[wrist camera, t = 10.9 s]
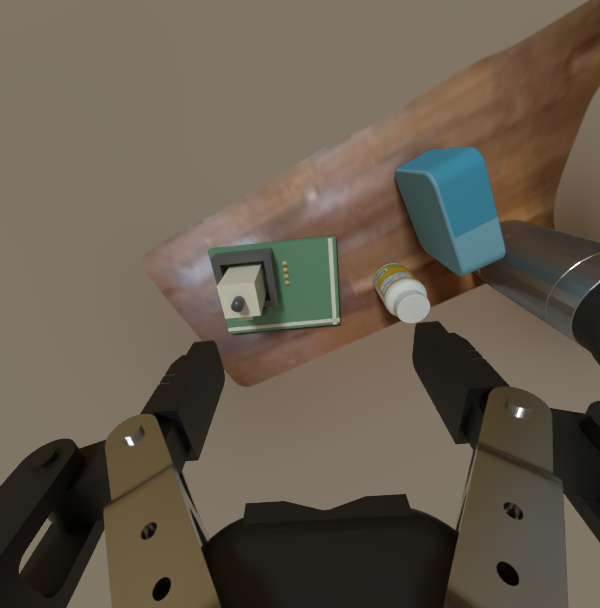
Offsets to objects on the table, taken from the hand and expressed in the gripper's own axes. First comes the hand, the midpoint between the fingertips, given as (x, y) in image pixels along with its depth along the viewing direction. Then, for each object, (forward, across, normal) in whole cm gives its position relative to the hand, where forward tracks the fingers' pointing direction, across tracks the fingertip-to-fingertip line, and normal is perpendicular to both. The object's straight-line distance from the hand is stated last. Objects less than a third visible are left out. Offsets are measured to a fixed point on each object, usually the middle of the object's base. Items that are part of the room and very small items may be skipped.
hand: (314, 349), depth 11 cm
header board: (+30, +5, +10) cm, 32 cm away
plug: (+29, +9, +8) cm, 31 cm away
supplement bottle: (+30, -12, +10) cm, 34 cm away
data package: (+30, -16, 0) cm, 34 cm away
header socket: (+29, +8, +8) cm, 31 cm away
